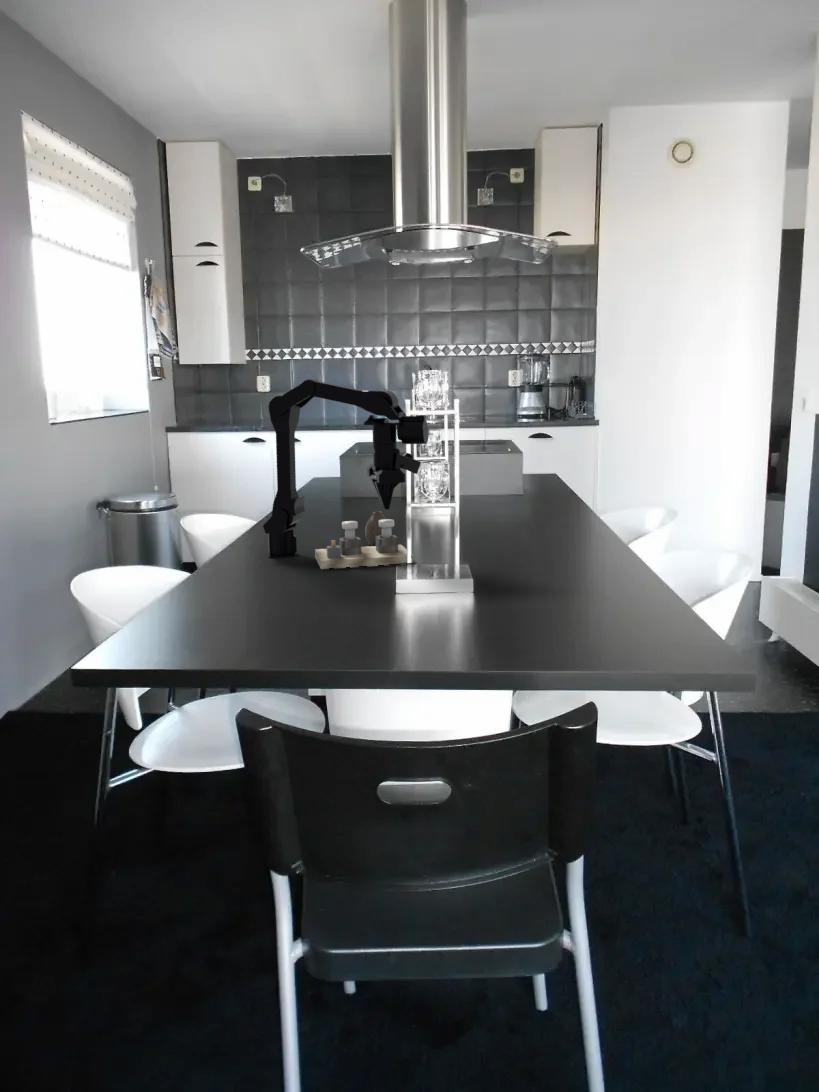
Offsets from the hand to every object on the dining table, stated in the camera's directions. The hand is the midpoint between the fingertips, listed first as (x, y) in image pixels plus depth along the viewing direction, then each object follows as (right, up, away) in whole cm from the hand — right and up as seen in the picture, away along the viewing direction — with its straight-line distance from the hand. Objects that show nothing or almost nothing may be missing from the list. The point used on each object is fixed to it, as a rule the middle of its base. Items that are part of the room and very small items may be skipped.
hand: (386, 508), depth 201 cm
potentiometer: (-12, -12, -4) cm, 17 cm away
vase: (-3, -9, +21) cm, 23 cm away
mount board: (-6, -13, +1) cm, 14 cm away
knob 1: (-9, -8, 0) cm, 12 cm away
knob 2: (0, -8, +1) cm, 8 cm away
